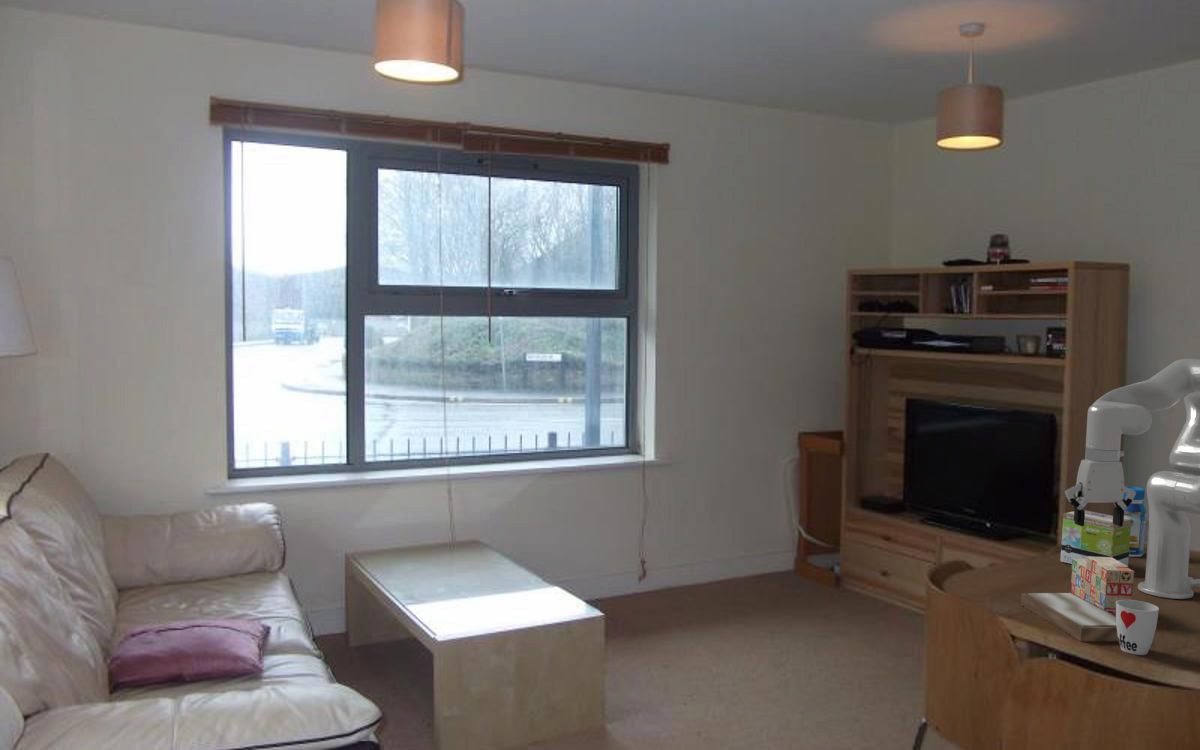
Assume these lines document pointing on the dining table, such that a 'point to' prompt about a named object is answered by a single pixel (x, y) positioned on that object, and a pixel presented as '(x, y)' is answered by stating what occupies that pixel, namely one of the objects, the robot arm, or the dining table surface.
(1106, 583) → the stack of blocks
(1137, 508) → the beverage bottle
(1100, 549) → the tea box
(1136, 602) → the cup
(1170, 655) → the dining table surface
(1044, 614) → the picture frame
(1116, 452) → the robot arm
